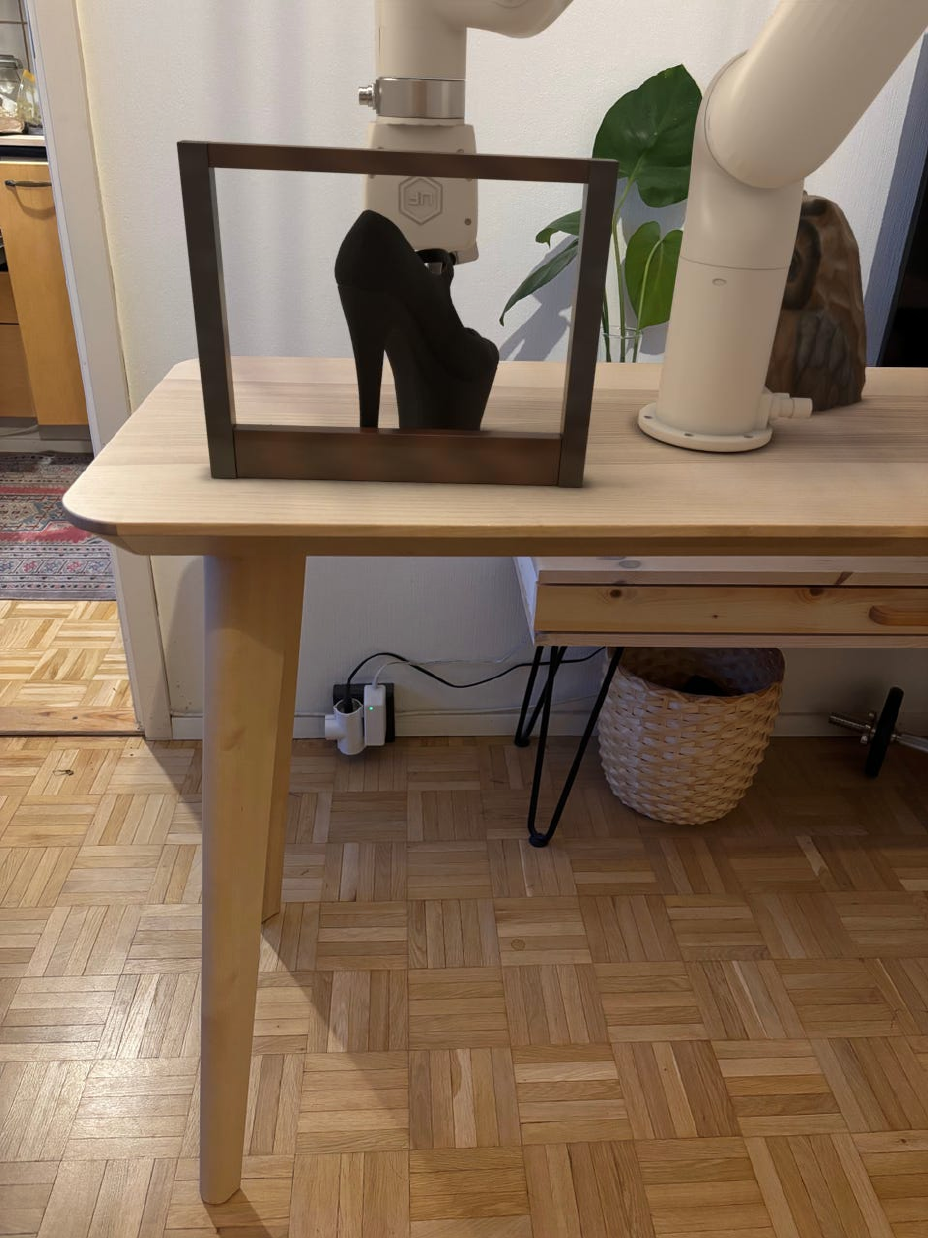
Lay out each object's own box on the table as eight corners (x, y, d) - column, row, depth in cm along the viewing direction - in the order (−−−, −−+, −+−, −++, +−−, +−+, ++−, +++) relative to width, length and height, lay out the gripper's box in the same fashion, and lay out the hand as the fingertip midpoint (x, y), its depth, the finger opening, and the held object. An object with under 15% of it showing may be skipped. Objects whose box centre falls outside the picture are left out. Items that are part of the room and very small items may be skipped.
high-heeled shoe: (512, 431, 87) (529, 199, 76) (383, 490, 73) (382, 218, 63) (444, 412, 90) (452, 189, 80) (309, 466, 77) (298, 205, 67)
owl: (793, 419, 93) (843, 204, 83) (700, 386, 102) (734, 188, 92) (867, 401, 100) (922, 199, 90) (773, 372, 109) (813, 185, 98)
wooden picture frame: (578, 478, 77) (614, 158, 65) (582, 487, 75) (619, 161, 63) (215, 468, 76) (182, 139, 63) (211, 478, 74) (176, 141, 62)
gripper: (328, 102, 74) (337, 334, 84) (512, 108, 75) (501, 337, 85) (334, 100, 81) (342, 315, 90) (504, 105, 82) (495, 318, 91)
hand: (419, 325), depth 87 cm, fingers closed
